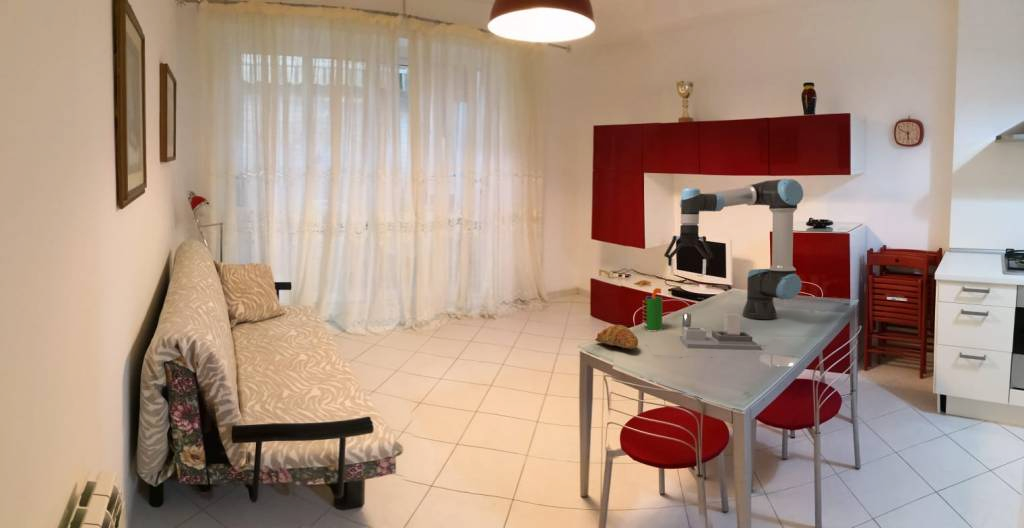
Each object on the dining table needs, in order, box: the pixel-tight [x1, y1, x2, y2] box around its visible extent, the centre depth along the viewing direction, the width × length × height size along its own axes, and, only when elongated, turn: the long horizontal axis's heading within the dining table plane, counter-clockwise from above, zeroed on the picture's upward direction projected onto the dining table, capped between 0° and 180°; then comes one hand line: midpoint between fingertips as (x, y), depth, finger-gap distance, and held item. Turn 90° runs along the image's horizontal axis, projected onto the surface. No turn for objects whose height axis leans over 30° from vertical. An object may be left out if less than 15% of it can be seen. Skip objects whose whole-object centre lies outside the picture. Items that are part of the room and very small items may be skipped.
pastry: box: [594, 324, 639, 349], centre depth 251 cm, size 21×13×8 cm, turn 42°
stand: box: [679, 326, 762, 351], centre depth 253 cm, size 28×18×6 cm, turn 84°
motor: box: [642, 287, 663, 331], centre depth 280 cm, size 10×9×20 cm
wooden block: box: [723, 312, 742, 336], centre depth 253 cm, size 5×6×10 cm
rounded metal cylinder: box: [681, 312, 692, 335], centre depth 270 cm, size 4×4×10 cm
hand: (687, 274), depth 269 cm, fingers open, 13 cm apart
